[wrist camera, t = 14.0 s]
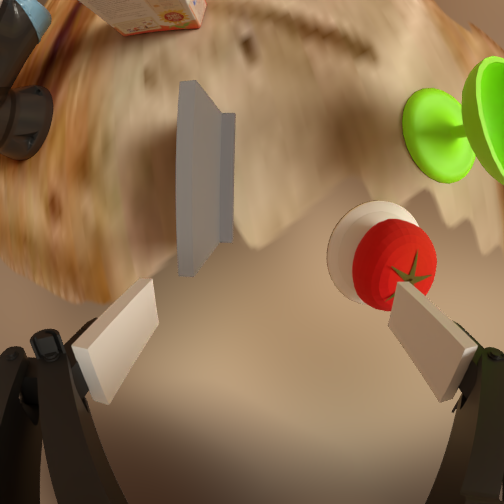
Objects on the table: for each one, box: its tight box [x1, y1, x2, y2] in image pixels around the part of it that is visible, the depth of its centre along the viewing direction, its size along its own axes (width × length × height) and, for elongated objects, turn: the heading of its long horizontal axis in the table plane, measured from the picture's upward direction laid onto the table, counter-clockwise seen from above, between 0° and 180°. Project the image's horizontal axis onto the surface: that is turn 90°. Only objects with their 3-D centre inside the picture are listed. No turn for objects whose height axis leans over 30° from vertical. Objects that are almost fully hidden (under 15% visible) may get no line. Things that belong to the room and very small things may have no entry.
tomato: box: [352, 219, 437, 311], centre depth 33 cm, size 11×12×10 cm
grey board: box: [176, 80, 236, 277], centre depth 30 cm, size 18×5×15 cm, turn 179°
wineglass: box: [402, 56, 504, 185], centre depth 24 cm, size 16×16×18 cm
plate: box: [327, 200, 419, 304], centre depth 38 cm, size 16×16×1 cm
